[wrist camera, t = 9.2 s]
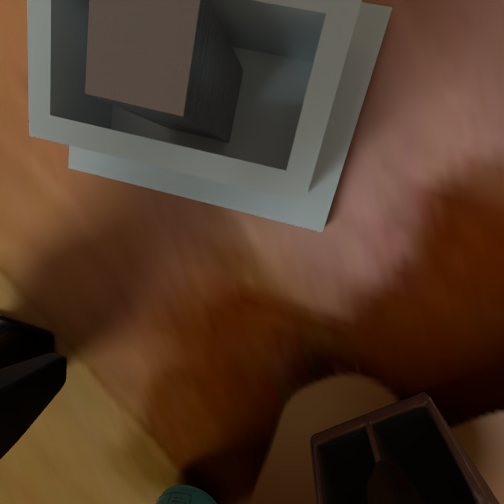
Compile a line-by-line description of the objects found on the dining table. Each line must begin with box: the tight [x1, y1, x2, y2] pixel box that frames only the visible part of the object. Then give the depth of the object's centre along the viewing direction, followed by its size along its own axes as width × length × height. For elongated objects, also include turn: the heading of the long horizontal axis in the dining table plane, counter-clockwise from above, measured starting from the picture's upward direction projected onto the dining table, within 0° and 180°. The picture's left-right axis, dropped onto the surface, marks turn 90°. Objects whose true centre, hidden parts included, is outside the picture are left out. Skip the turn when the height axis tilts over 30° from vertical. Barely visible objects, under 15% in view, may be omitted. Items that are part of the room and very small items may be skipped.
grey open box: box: [27, 0, 393, 232], centre depth 14 cm, size 18×12×6 cm, turn 77°
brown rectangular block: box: [85, 0, 244, 143], centre depth 13 cm, size 4×4×7 cm
